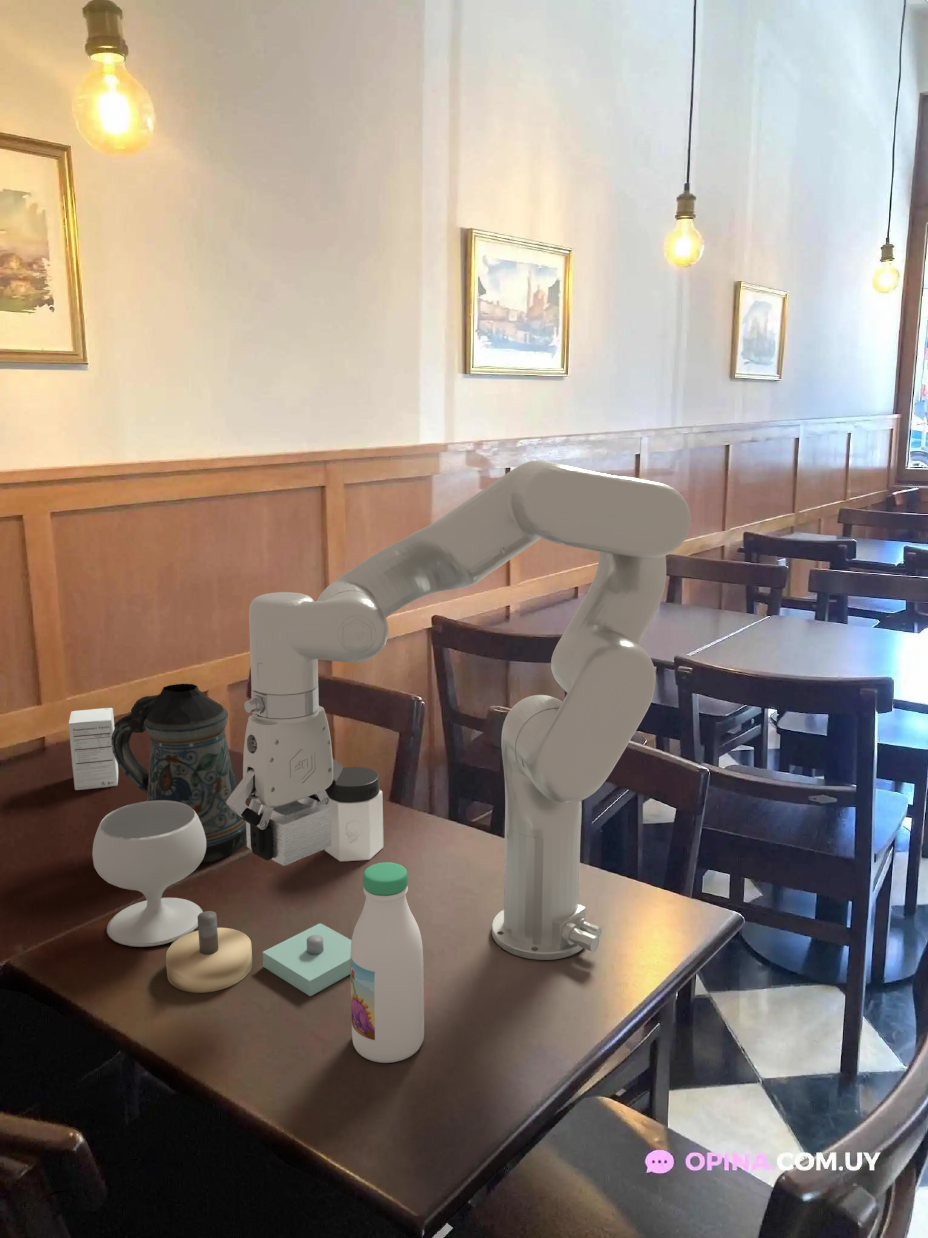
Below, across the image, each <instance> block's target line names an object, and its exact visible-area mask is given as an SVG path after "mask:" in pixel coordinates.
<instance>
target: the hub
mask: <svg viewBox="0 0 928 1238" xmlns="http://www.w3.org/2000/svg"><path fill="white" fill-rule="evenodd" d="M252 950H253V949H252V941H251V939H250V938H249V936H248V935H247V934H246V933H244V932H242V931H240V930H237V929H235V928H234V929H233V928H230V927H229V928H228V927H218V919H217V913H216V912H215V911H213V910H207V911H206V910H205V911H203V912H202V913H200V914H199V915H198V927H197V930H194V931H193V932H191V933H189V934H186V935H184V936H182V937H181V938H179V939H177V940H176V941H173V942H172V943H171V945H170V946H169V947H168V949H167V950H166V952H165V953H166V954H165V960H166V961H165V962H166V974H167V975H166V976H167V980H168V982H169V983H170V985H172V986H173V987H175V989H178V990H180V991H183V992H187V993H198V994H200V993H203V994H204V993H213V992H217V991H221V990H224V989H228V988H230V987H232V986H234V985H236V984H238V983H240V982H241V981H242V980H243V979H245V978H246V977H247V975H249V973H250V972H251V971H252V967H253V953H252V952H253V951H252Z"/></svg>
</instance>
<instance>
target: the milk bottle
mask: <svg viewBox="0 0 928 1238" xmlns="http://www.w3.org/2000/svg"><path fill="white" fill-rule="evenodd" d="M408 874H409V873H408V871H407V869H406V867H404V866H403V865H401V864H400V863H399V864H398V863H397V862H388V861H384V862H377V863H374V864H371V865H369V866H368V867H366V869H365V870H364V871H363V874H362V883H363V894H364V896H365V902H364V905H363V908H362V911H361V912H360V915H359V917H358V918H357V919H358V920H357V922H356V924H355V926H354V929H353V932H352V937H351V940H352V941H351V956H350V974H349V975H350V1010H351V1011H350V1012H351V1017H350V1019H351V1038H352V1039H351V1040H352V1045H353V1047H354V1049H355V1050H356V1052H357V1053H358V1054H359V1055H360V1056H361V1057H363V1058H364V1059H366V1060H369V1061H371V1062H374V1063H381V1064H389V1063H396V1062H401V1061H403V1060H404V1061H405V1060H406V1059H408V1058H410V1057H412V1056H413V1055H414V1054H416V1053H417V1052H418V1051H419V1050H420V1048H421V1046H422V1044H423V1042H424V1039H425V1037H424V1036H425V990H424V989H425V984H424V981H425V980H424V975H425V973H424V953H423V952H424V950H423V941H422V934H421V931H420V928H419V925H418V923H417V921H416V918H415V917H414V915H413V912H412V911H411V909H410V906H409V903H408V900H407V896H406V894H407V893H408V890H409V887H408V884H409V881H408V880H409V876H408Z"/></svg>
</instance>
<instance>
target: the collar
mask: <svg viewBox="0 0 928 1238" xmlns="http://www.w3.org/2000/svg"><path fill="white" fill-rule="evenodd" d="M247 806H248V805H247ZM248 807H249V806H248ZM262 807H263V805H262V804H261V807H260V809H259V812H258V815H260V813H261V810H262ZM267 826H269V827H271V828H272V842H273V857H272V859H270V860H272V861H274V862H275V863H278V864H279V865H281V866H283V867H285V866H288V865H290V864H292V863H296V861H299V860H302V859H304V858H307V857H309V856H311V855H314V854H317V853H318V852H320V851H323V850H325V849H326V848H328V847H331V807H330V806H328V805H326V804H323V803H321V802H319V801H316V800H314V799H312V798H309V797H305V798H303V799H300V800H297V801H294V802H292V803H289V804H286V805H283V806H280V807H276V808H274V809H273V811H272V814H271V817H270V820H269V822H268V825H267ZM246 833H247V839H246V847H247V848H248V849H250V850H252V849H251V838H250V824H249V823H247V822H246Z"/></svg>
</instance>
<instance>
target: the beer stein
mask: <svg viewBox="0 0 928 1238" xmlns="http://www.w3.org/2000/svg"><path fill="white" fill-rule="evenodd" d="M228 717H229V713H228V711H227V709H226V708H225V707H223V705H222V704H220V703H218V702H217V701H215V700H214V699H212V698H210V697H208V696H207V695H206V694H205V693H203V692H202V691H201V690H200V689H199V687H198V685H196V684H194V683H193V684H192V683H175V684H172V685H171V684H170V685H166V686H163V688H162V689H161V691H160V693H159V694H155V695H145V696H142V697H141V698H139V699H137V700H136V702H135V703H134V704H133V706H132V707H131V709H130V713H128V714H126V715H124V716H123V717H122V718H120V719H118V721H116V722H114V728H115V729H114V731H113V734H112V738H111V745H112V750H113V754H114V756H115V758H116V761H117V763H118V767H119V768H120V769H121V771H123V773H124V775H125V776H126V777H127V778H128V779H129V780H130V781H131V782H132V783H133V784H134V785H135V786H136V787H137V788H138V789H140V790H141V791H142V792H144V794H147V797H146V801H155V800H168V801H176V802H181V803H184V804H186V805H188V806H190V807H191V808H192V809H193V810H194V811H195V812H196V814H197V815H198V817H199V819H200V822H201V824H202V826H203V829H204V833H205V837H206V852H205V855H204V858H203V860H202V862H201V863H200V864H206V863H210V862H215V861H217V860H220V859H223V858H226V857H229V856H231V855H232V853H233V854H234V853H236V852H237V851H238V850H239V848H240V847H241V848H243V847H244V846H245V845H244V844H246V843H247V833H246V821H245V820H244V819H242V818H241V817H239V816H238V815H237V814H236V812H234V811H233V810H232V809H231V808H230V807H229V806H228V805H227V804H226V801H227V799H228V798H229V796H230V795H231V794H232V792H233V791H234V790H235V788H236V787H237V786H238V784H237V780H236V776H235V773H234V769H233V765H232V759H231V756H230V749H229V745H228V742H227V741H228V740H227V736H226V726H227V724H228ZM145 731H146V733H147V734H148V736H149V737H150V751H149V752H150V753H149V766H148V768H149V769H146V768H145V767H144V766H143V765H142V764H141V763H140V762H139V760H138V758H137V757H136V756H135V754H134V753H133V751H132V749H131V746H130V740H131V737H132V734H133V733H135V734H137V733H138V734H143V733H144V732H145ZM243 845H244V846H243ZM241 848H240V849H241ZM236 850H237V851H236ZM230 854H231V855H230Z"/></svg>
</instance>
